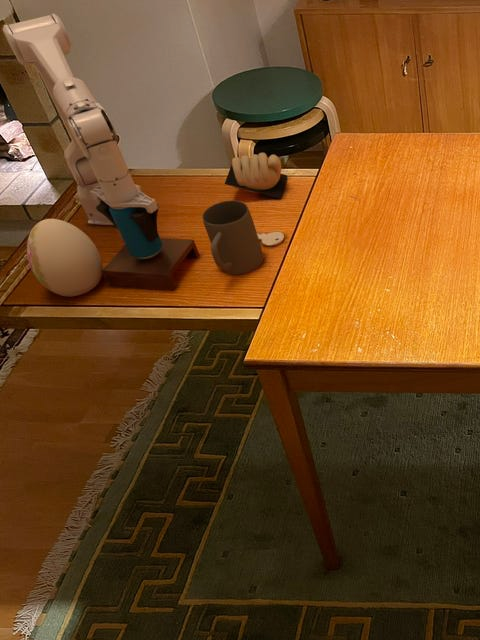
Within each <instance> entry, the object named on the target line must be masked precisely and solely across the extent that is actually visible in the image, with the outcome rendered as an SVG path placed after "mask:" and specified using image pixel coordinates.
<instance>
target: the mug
mask: <svg viewBox="0 0 480 640" xmlns="http://www.w3.org/2000/svg"><path fill="white" fill-rule="evenodd" d="M202 221H203V225H204V228H205V231H206V234H207V237H208V239H209V242H210V250H211V256H212V258H213V261H214V264H215V265H216V266H217V267H218V268H219V269H221V270H222V271H223V272H224V273H226V274H228V275H243V274H247V273H250V272H252V271H254V270H256V269H258V268H259V267H260V266H261V265H262V263H263V261H264V254H263V249H262V245H261V242H260V240H259V238H258V235H257V233H258V232H257V230H256V226H255V223H254V219H253V217H252V214H251V211H250V208H249V206H248V205H247V204H246V203H244V202H242V201H240V200H224V201H220V202H217V203H215V204H212V205H210V206H209V207H208V208H206V210H205V211H203V213H202Z"/></svg>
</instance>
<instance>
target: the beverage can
mask: <svg viewBox="0 0 480 640" xmlns="http://www.w3.org/2000/svg"><path fill="white" fill-rule="evenodd" d="M136 210H137V209H136V207H111V206H110V207H109V211H110V213H111V215H112V217H113V220H114V222H115V224H116V226H117V228H118V229H117V228H116V229H117V230H118V232H119V234H120V236H121V238H122V240H123V242H124V243H123V244H124V245H126V247H127V249H128V251H129V253H130V255H131V256H132V257H135V258H139V259H147V258H151V257H153V256H155V255H157V254H158V253H159V251H160V250H161V249H162V247H163V244H162V241H161V239H160V238H161V236H160V233H158V238H156V239H155V240H154V241H153V242H149V241H148V240H147V239H146V237H145V236H144V234H143V232H142V230H141V229H140V227H139V226H138V225H137V223H136V222H135V221H134V220H133V219H131V218H130V217H129V215H130V214H132V213H133V212H135V211H136Z"/></svg>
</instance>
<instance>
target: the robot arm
mask: <svg viewBox="0 0 480 640" xmlns="http://www.w3.org/2000/svg"><path fill="white" fill-rule="evenodd" d="M2 32H3V34H4V37H5V39H6V40H7V43H8V44H9V47H10V49H11V50H12V52H13V54H14V56H15V57H16V59H17V61H18V63H20V64H21V65H22V66H32V67H33V68H34V69H35V70H36V72H38V74H39V75H40V77H41V79H42V81H43V83H44V86H45V88H46V90H47V92H48V94H49V96H50V98H51V101H52V102H53V104H54V107H55V108H56V111H57V113H58V115H59V117H60V119H61V121H62V123H63V125H64V127H65V128H66V131H67V133H68V136H69V138H70V139H71V141H70V143H69V144H68V146H67V147H66V148H65V150H64V152H63V154H64V155H63V156H64V159H65V161H66V164H67V166H68V169H69V171H70V173H71V175H72V177H73V179H74V180H75V182H76V184H77V189H76V193H77V194H76V195H77V198H78V200H79V202H80V204H81V206H82V208H83V210H84V212H85V215H86V216H87V219H88V221H87V225H97V226H98V225H99V226H100V225H101V226H114V227H115V228H116V229H117V230H118V228H117V226H116V224H115V222H114V220H113V217H112V215H111V213H110V211H109V207H110V206H111V207H136V209H137V210H136V211H135V212H133V213H132V214H130V215H129V217H130V218H131V219H133V220H134V221H135V222H136V223H137V225H138V226H139V227H140V229H141V230H142V232H143V234H144V236H145V237H146V239H147V240H148V241H149V242H153V241H154V240H155V239H156V238H158V234H159V232H158V212H159V209H160V206H159V204H158V203H157V201H156V199H155V198H151V197H149V196H148V195H147V194H145V193H144V192H142V191H141V190H142V187H141V185H138V184H135V182H134V179H133V176H132V175H131V174H132V173H131V172H130V170H129V167H128V165H127V164H126V161H125V158H124V155H123V153H122V150H121V149H120V147H119V145H118V142H117V139H118V135H117V131H116V128H115V126H114V124H113V121H112V120H111V117H110V116H109V114H108V113H107V112H106V110H105V108H104V107H103V106H102V105H101V104H100V103H99V102H97V101H96V99H95V98H94V96H93V94H92V92H91V91H90V89H89V87H88V86H87V84H86V83H85V81H83V80H82V79H80V78H77V77H74V74H73V72H72V70H71V68H70V65H69V64H68V61H67V58H66V57H65V56H67V55H68V54H70V52H71V47H72V41H71V38H70V36H69V34H68V31H67V29H66V27H65V25H64V23H63V22H62V20H61V18H60V17H59V16H58V15H57V14H55V13H50V14H48V15H44V16H41V17H36V18H31V19H28V20H23V21H19V22H15V23H11V24H3V27H2Z"/></svg>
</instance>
